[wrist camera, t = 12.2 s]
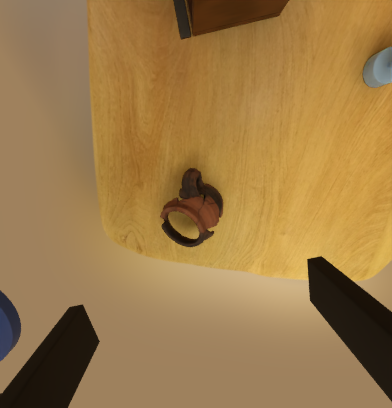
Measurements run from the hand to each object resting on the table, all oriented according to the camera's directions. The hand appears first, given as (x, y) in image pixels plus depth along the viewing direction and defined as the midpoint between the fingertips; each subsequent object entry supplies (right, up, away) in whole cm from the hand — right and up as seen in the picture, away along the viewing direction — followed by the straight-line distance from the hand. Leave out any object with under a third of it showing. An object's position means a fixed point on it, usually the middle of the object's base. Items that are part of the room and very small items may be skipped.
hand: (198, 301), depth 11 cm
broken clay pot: (-1, +6, +22) cm, 23 cm away
